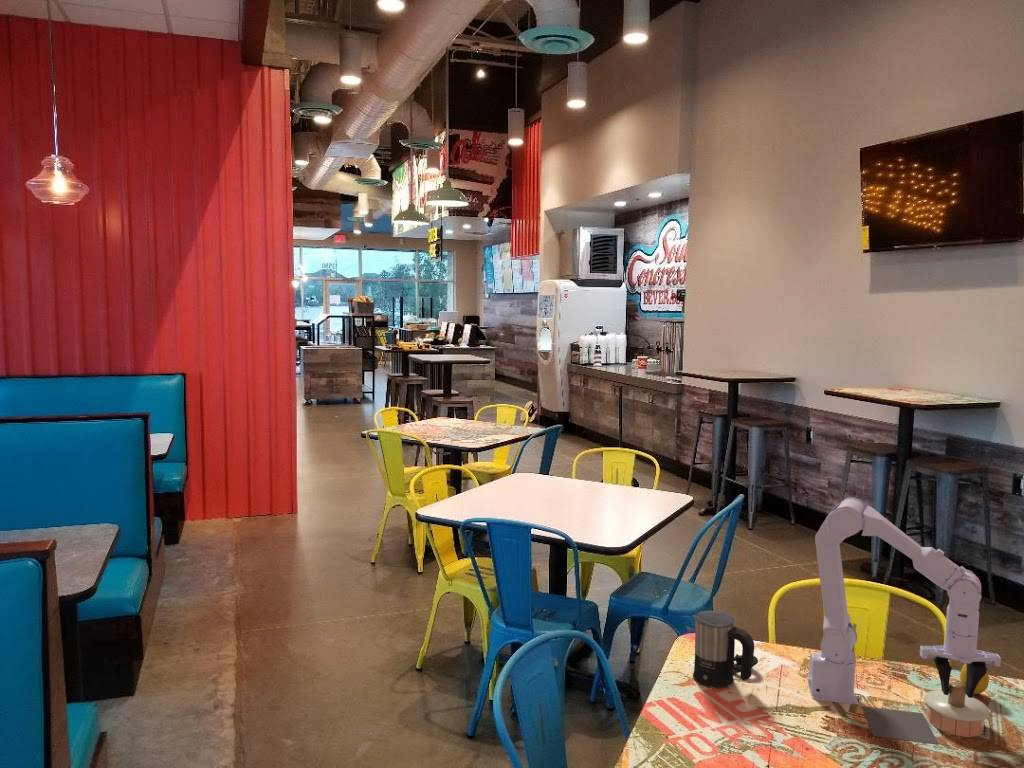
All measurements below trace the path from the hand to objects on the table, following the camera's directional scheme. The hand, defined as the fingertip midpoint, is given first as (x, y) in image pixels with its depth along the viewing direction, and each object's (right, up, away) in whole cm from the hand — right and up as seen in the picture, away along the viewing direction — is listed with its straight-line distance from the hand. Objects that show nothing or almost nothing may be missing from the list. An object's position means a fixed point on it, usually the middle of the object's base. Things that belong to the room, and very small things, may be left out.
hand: (956, 694), depth 161 cm
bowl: (0, -7, +1) cm, 7 cm away
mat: (-12, -7, 0) cm, 14 cm away
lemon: (+11, -6, +13) cm, 18 cm away
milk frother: (-42, -4, +22) cm, 48 cm away
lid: (0, -3, 0) cm, 3 cm away
